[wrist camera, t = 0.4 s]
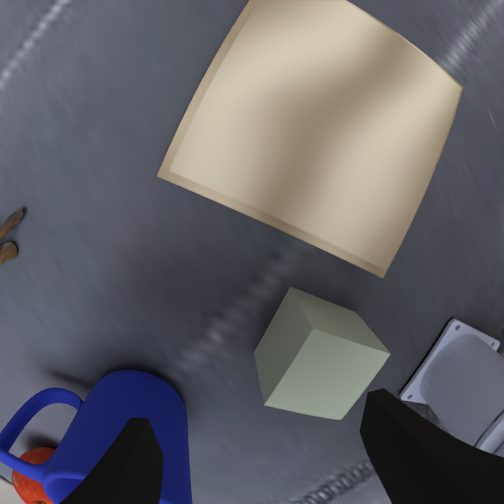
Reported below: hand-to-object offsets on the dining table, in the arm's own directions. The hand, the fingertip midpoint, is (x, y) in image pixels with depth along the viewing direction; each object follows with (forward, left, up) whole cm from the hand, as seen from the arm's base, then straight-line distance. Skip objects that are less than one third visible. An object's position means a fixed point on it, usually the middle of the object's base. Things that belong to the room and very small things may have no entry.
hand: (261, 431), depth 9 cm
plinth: (0, -12, -10) cm, 15 cm away
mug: (+5, +10, -10) cm, 15 cm away
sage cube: (-5, 0, -10) cm, 11 cm away
